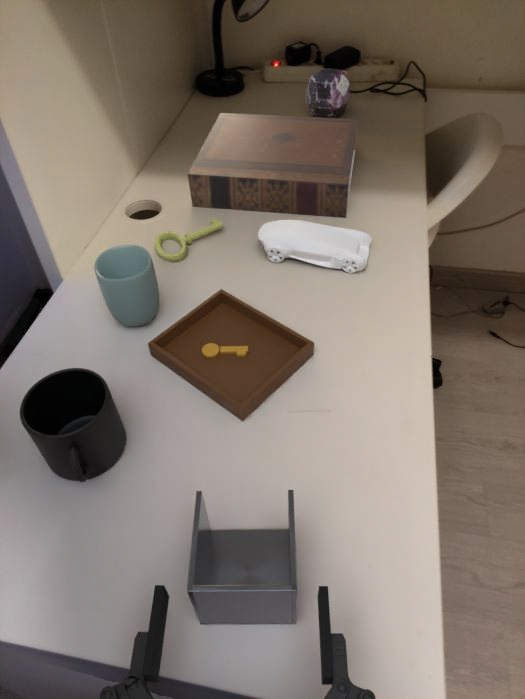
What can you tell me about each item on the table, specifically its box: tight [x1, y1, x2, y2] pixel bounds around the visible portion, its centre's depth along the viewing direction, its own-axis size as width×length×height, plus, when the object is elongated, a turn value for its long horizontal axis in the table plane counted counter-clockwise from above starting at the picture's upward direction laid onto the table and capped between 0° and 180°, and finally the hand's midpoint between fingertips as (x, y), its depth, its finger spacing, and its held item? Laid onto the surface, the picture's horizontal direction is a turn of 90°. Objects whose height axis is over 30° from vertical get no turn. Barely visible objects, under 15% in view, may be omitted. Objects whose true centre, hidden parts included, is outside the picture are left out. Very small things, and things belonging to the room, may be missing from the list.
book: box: [187, 112, 359, 218], centre depth 102 cm, size 24×28×6 cm
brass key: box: [202, 343, 248, 358], centre depth 73 cm, size 6×2×1 cm, turn 90°
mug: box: [19, 367, 127, 483], centre depth 60 cm, size 9×12×9 cm
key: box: [154, 217, 224, 263], centre depth 91 cm, size 7×12×2 cm, turn 137°
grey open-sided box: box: [186, 489, 298, 626], centre depth 50 cm, size 9×9×9 cm
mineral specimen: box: [305, 67, 351, 118], centre depth 119 cm, size 10×10×10 cm
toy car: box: [257, 219, 373, 274], centre depth 86 cm, size 18×8×4 cm, turn 75°
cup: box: [93, 244, 160, 327], centre depth 76 cm, size 8×8×10 cm
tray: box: [147, 288, 315, 422], centre depth 72 cm, size 17×14×2 cm
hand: (242, 590), depth 45 cm, fingers open, 13 cm apart
